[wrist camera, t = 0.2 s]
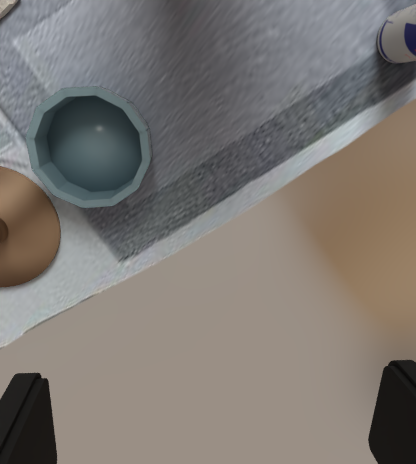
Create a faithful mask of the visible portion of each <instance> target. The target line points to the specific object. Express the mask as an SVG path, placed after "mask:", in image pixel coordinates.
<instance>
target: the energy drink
mask: <svg viewBox="0 0 416 464" xmlns="http://www.w3.org/2000/svg"><path fill="white" fill-rule="evenodd" d="M377 42H378V49H379V52H380V54H381V55H382V57H383V58H384V59H385V60H387V61H388V62H391V63H397V64H399V63H404V62H410V61H416V4H415V5H413V6H410V7H408V8H405V9H403V10H400V11H398V12H395V13H393V14H392V15H390V16H389V17H388V18H387V19H386V20H385V21H384V22H383V24H382V26H381V28H380V30H379V33H378V39H377Z"/></svg>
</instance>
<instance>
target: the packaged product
mask: <svg viewBox="0 0 416 464" xmlns="http://www.w3.org/2000/svg"><path fill="white" fill-rule="evenodd" d="M18 1H19V0H0V19H1V18H2V17H3V16H5V15H6V14H7V13H8V12H9V11H10V10H11V9H12V7H13V6H14V5H15V4H16V3H17V2H18Z"/></svg>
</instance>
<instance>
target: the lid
mask: <svg viewBox="0 0 416 464" xmlns="http://www.w3.org/2000/svg"><path fill="white" fill-rule="evenodd" d="M60 232H61V230H60V222H59V218H58V215H57V212H56V210H55V207H54V206H53V204H52V202H51V200H50V199H49V198H48V196H47V195H46V193H45V192H44V191H43V190H42V189H41V188H40V187H39V186H38V185H37V184H35V183H34V182H33V181H32V180H30V179H29V178H27V177H26V176H24V175H22V174H20V173H18V172H16V171H14V170H11V169H8V168H5V167H1V166H0V287H10V286H16V285H20V284H23V283H25V282H28V281H30V280H32V279H34V278H35V277H37V276H38V275H39V274H41V273H42V272H43V271H44V270H45V269H46V268H47V267H48V265H49V264H50V263H51V261H52V260H53V258H54V257H55V255H56V253H57V250H58V247H59V243H60Z"/></svg>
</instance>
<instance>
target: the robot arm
mask: <svg viewBox="0 0 416 464" xmlns="http://www.w3.org/2000/svg"><path fill="white" fill-rule="evenodd" d="M368 441H369V446H370V450H371V452H372V454H373V455H374V457H375V459H376V461H377V462H378V464H416V362H414V361H412V360H396V361H395V360H394V361H391V362H390V363H389V364H388V366H386V367H385V368H384V370H383V374H382V378H381V383H380V387H379V392H378V397H377V401H376V406H375V410H374V415H373V420H372V425H371V429H370V433H369V439H368ZM0 464H57V451H56V442H55V435H54V425H53V417H52V408H51V399H50V392H49V383H48V380H47V378H44V379H43V378H41V375H40V373H18V374H15V375H14V377H13V378H12V380H11V382H10V384H9V385H8V387H7V389H6V391H5V392H4V394H3V396H2V398H1V399H0Z"/></svg>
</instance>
